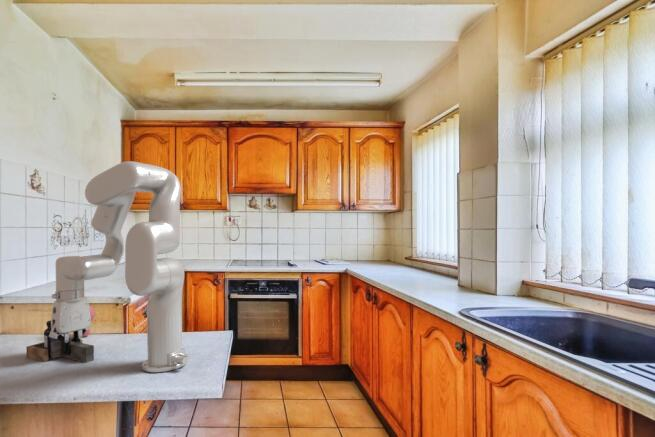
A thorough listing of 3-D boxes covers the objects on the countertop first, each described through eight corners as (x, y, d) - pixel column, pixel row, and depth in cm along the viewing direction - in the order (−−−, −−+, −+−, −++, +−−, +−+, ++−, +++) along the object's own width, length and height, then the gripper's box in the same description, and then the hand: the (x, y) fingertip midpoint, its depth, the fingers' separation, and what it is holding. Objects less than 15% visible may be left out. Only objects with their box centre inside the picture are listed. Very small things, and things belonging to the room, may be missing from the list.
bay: (82, 350, 128) (82, 339, 129) (44, 361, 118) (44, 350, 118) (64, 346, 133) (64, 336, 133) (26, 357, 122) (26, 346, 122)
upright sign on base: (100, 357, 121) (100, 341, 121) (78, 365, 115) (78, 348, 115) (73, 351, 127) (73, 336, 127) (50, 358, 121) (50, 342, 121)
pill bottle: (71, 350, 128) (70, 318, 128) (59, 357, 122) (59, 322, 122) (52, 351, 128) (51, 318, 128) (39, 358, 122) (39, 323, 122)
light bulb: (85, 339, 140) (84, 307, 140) (68, 339, 141) (67, 307, 142) (99, 334, 147) (99, 303, 147) (83, 333, 148) (82, 302, 149)
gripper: (50, 300, 113) (51, 363, 113) (102, 291, 128) (103, 346, 127) (35, 299, 116) (36, 359, 116) (88, 290, 131) (88, 344, 131)
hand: (71, 352), depth 122 cm, fingers closed on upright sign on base
